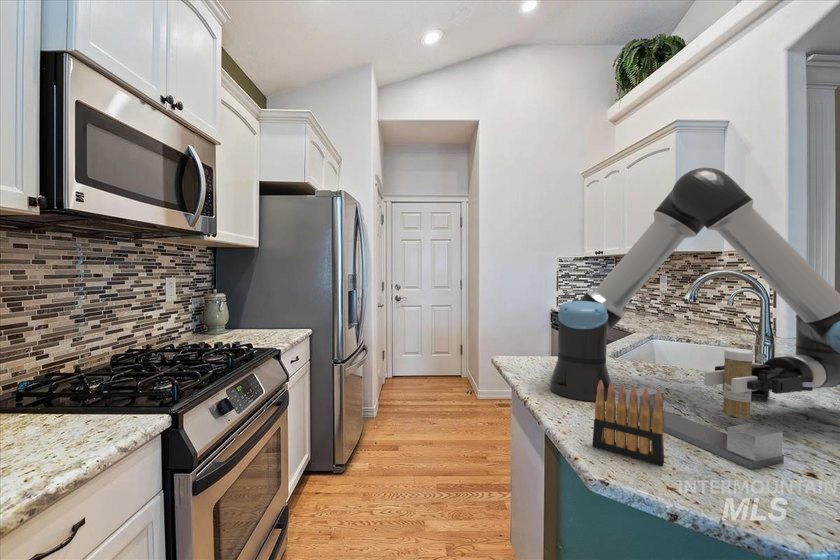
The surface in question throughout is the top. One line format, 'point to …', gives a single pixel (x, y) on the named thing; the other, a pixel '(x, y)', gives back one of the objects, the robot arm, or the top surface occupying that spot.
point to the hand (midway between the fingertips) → (719, 382)
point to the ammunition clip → (629, 425)
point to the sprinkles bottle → (735, 367)
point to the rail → (723, 437)
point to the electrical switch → (758, 393)
